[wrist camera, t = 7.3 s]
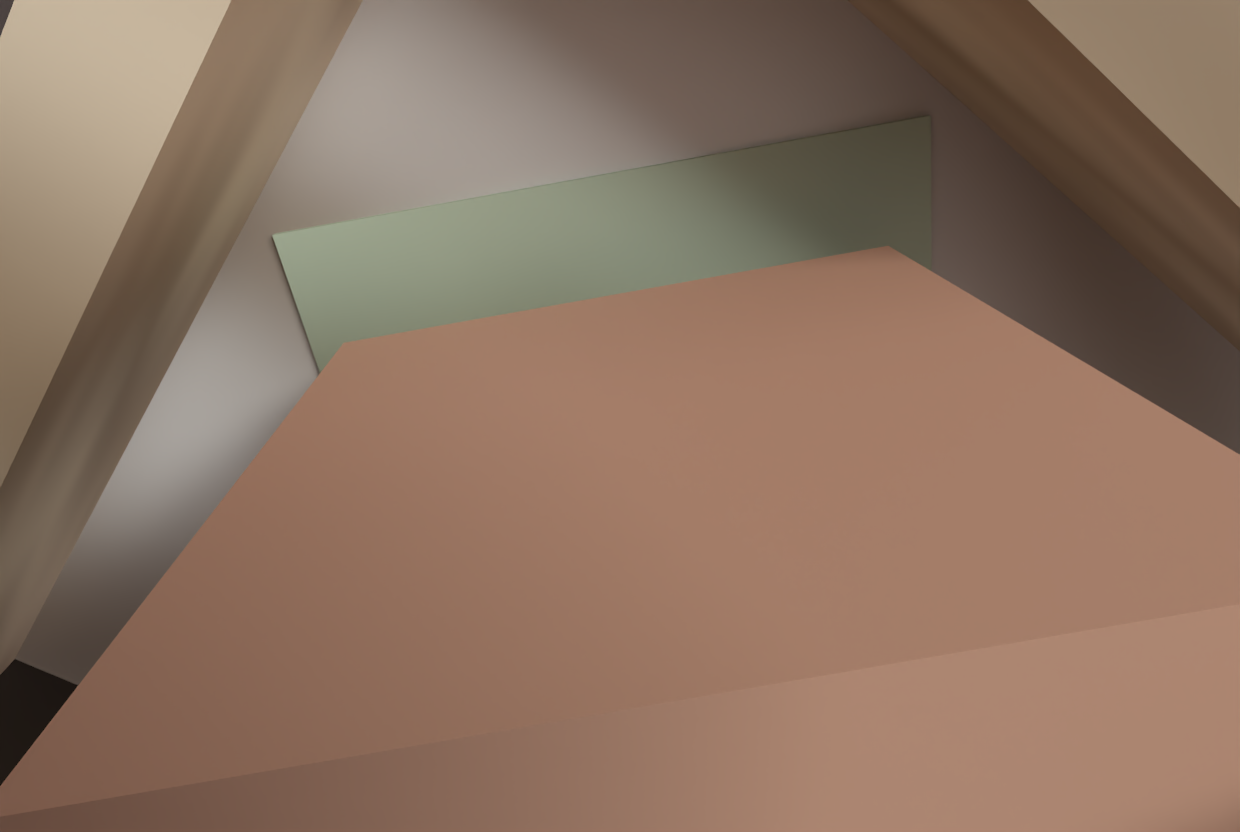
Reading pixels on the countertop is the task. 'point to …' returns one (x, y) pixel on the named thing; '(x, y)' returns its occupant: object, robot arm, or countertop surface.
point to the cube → (687, 587)
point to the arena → (547, 211)
